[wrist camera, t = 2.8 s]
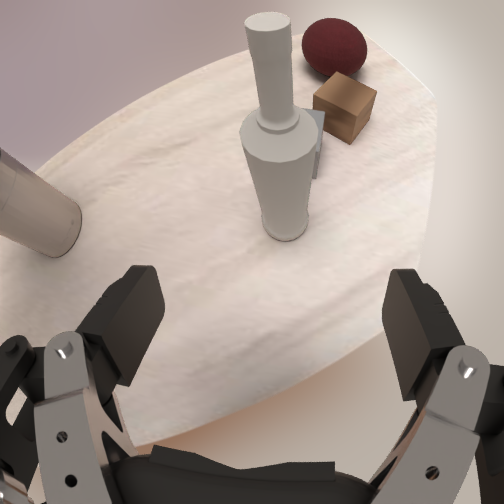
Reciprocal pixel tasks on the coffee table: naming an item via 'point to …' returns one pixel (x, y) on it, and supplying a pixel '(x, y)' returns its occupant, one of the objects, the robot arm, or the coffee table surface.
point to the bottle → (278, 131)
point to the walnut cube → (344, 106)
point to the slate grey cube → (319, 121)
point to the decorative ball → (334, 47)
